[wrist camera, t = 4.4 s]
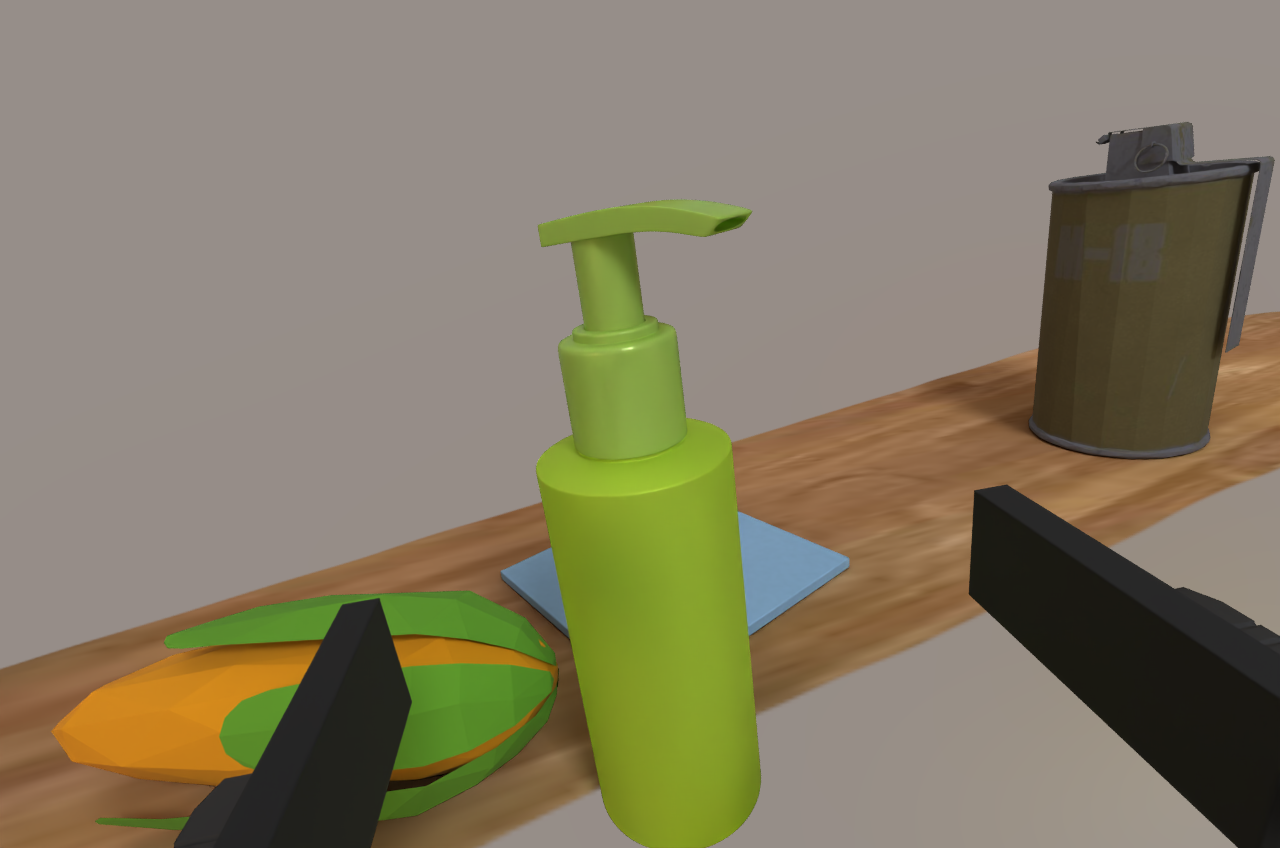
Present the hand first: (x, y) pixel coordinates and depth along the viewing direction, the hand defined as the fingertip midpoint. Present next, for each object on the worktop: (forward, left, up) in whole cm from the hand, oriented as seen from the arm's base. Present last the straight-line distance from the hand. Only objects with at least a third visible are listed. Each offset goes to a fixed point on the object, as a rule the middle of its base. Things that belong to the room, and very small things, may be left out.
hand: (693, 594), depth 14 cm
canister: (-5, +44, -12) cm, 46 cm away
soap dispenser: (-5, +3, -12) cm, 13 cm away
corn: (-15, -8, -12) cm, 21 cm away
